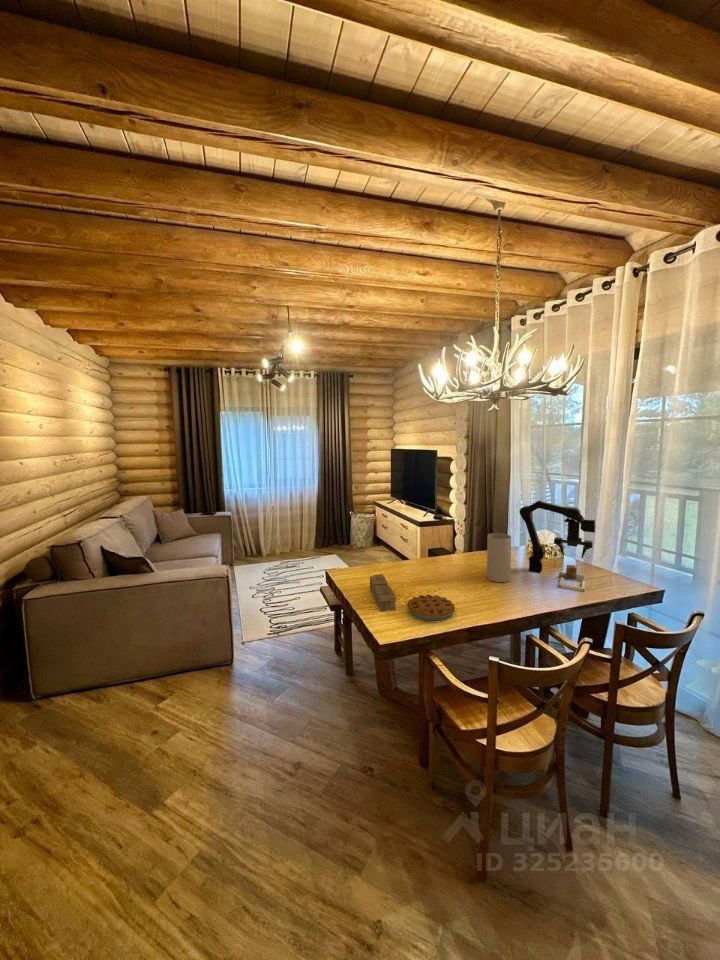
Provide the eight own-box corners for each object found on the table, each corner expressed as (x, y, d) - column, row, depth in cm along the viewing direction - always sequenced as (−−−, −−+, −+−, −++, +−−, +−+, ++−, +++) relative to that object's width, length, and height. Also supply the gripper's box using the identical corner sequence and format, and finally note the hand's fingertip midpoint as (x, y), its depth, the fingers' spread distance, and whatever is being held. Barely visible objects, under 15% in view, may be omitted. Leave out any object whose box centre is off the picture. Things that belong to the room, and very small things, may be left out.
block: (565, 577, 209) (566, 567, 208) (566, 574, 213) (566, 564, 213) (576, 578, 206) (576, 568, 206) (576, 576, 211) (576, 565, 210)
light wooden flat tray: (559, 587, 197) (559, 584, 196) (561, 579, 207) (561, 576, 207) (584, 591, 190) (584, 588, 190) (584, 583, 201) (584, 580, 201)
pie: (463, 620, 163) (463, 610, 163) (417, 627, 159) (417, 616, 158) (442, 600, 185) (442, 590, 184) (401, 605, 180) (400, 595, 180)
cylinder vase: (504, 574, 216) (505, 532, 213) (514, 582, 204) (515, 538, 201) (483, 575, 216) (484, 533, 213) (491, 583, 203) (492, 539, 201)
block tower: (369, 590, 201) (379, 613, 172) (369, 575, 200) (379, 595, 172) (383, 589, 202) (396, 611, 173) (383, 574, 201) (395, 594, 173)
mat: (558, 578, 209) (558, 577, 209) (560, 572, 217) (560, 572, 217) (583, 582, 202) (583, 581, 202) (583, 576, 211) (583, 575, 211)
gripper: (553, 531, 205) (552, 558, 207) (592, 535, 195) (591, 564, 197) (555, 527, 214) (554, 553, 216) (593, 530, 204) (591, 558, 206)
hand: (572, 557), depth 209 cm, fingers open, 9 cm apart
